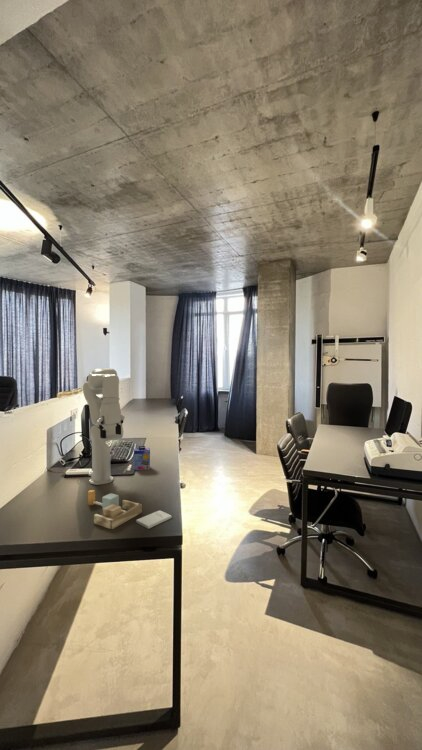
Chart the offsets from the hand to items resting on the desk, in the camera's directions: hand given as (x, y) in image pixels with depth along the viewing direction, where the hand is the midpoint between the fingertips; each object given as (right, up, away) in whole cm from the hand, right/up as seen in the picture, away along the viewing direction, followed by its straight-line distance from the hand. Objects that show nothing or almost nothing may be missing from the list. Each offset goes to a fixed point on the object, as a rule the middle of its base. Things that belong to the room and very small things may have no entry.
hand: (110, 436), depth 160 cm
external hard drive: (+25, -32, -22) cm, 46 cm away
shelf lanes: (+9, -31, -20) cm, 38 cm away
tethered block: (-1, -30, -9) cm, 32 cm away
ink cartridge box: (+5, -29, +46) cm, 55 cm away
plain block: (+8, -31, -24) cm, 40 cm away
